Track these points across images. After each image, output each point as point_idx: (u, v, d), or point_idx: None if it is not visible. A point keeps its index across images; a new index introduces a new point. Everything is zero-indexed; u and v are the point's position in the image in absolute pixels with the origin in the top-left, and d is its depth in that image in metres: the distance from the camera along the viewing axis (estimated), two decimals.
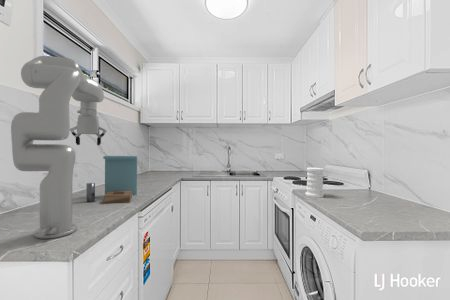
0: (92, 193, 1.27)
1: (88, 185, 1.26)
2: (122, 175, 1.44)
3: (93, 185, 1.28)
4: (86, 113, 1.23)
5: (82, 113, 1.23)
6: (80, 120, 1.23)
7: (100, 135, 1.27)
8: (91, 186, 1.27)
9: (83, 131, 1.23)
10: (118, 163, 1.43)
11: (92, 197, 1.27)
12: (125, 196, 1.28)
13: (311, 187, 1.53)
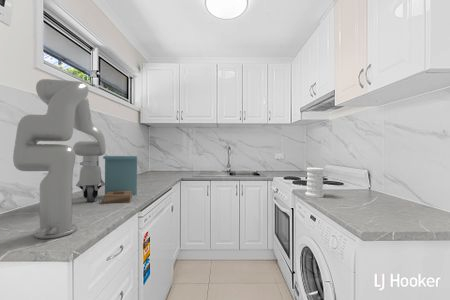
0: (92, 193, 1.27)
1: None
2: (122, 175, 1.44)
3: (93, 185, 1.28)
4: (88, 166, 1.24)
5: (84, 165, 1.24)
6: (82, 172, 1.25)
7: (98, 188, 1.29)
8: (91, 186, 1.27)
9: (85, 183, 1.25)
10: (118, 163, 1.43)
11: (92, 197, 1.27)
12: (125, 196, 1.28)
13: (311, 187, 1.53)
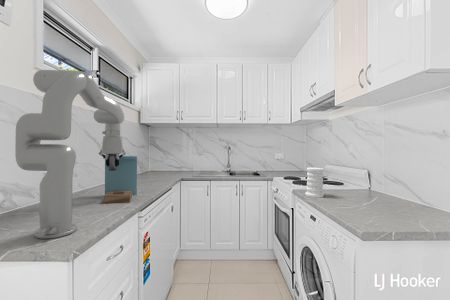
0: (114, 162, 1.30)
1: (110, 154, 1.29)
2: (122, 175, 1.44)
3: (115, 154, 1.31)
4: (111, 134, 1.27)
5: (107, 134, 1.27)
6: (105, 141, 1.27)
7: (119, 157, 1.32)
8: (113, 155, 1.30)
9: (108, 151, 1.28)
10: None
11: (114, 166, 1.30)
12: (125, 196, 1.28)
13: (311, 187, 1.53)
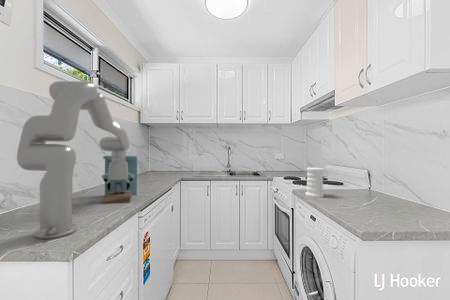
0: (120, 192, 1.31)
1: (116, 184, 1.30)
2: None
3: (121, 184, 1.32)
4: (117, 161, 1.29)
5: (113, 161, 1.29)
6: (111, 167, 1.29)
7: (129, 180, 1.33)
8: (119, 185, 1.31)
9: (114, 177, 1.29)
10: None
11: None
12: (125, 196, 1.28)
13: (311, 187, 1.53)
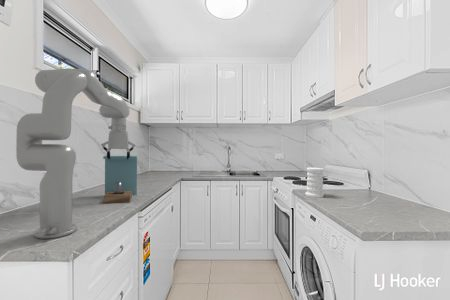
0: (120, 192, 1.31)
1: (116, 184, 1.30)
2: (122, 175, 1.44)
3: (121, 184, 1.32)
4: (117, 129, 1.28)
5: (113, 129, 1.28)
6: (111, 135, 1.28)
7: (129, 149, 1.33)
8: (119, 185, 1.31)
9: (114, 146, 1.28)
10: (118, 163, 1.43)
11: None
12: (125, 196, 1.28)
13: (311, 187, 1.53)
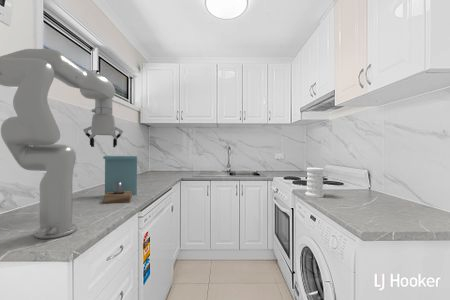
0: (120, 192, 1.31)
1: (116, 184, 1.30)
2: (122, 175, 1.44)
3: (121, 184, 1.32)
4: (102, 112, 1.11)
5: (97, 112, 1.11)
6: (95, 119, 1.11)
7: (116, 136, 1.16)
8: (119, 185, 1.31)
9: (98, 131, 1.12)
10: (118, 163, 1.43)
11: None
12: (125, 196, 1.28)
13: (311, 187, 1.53)
